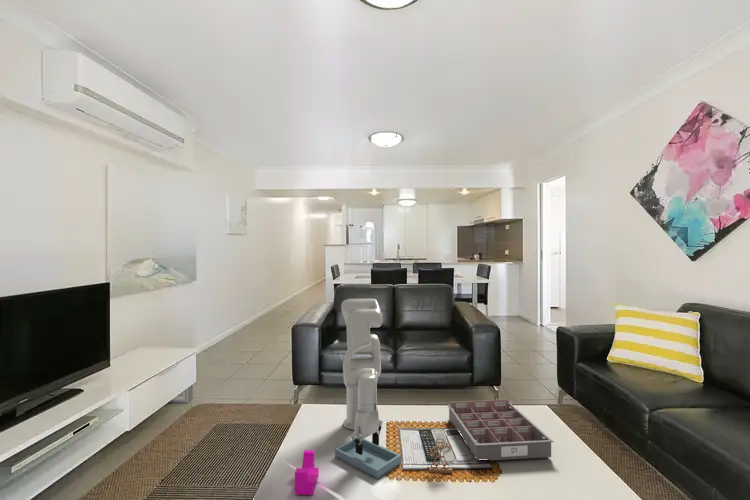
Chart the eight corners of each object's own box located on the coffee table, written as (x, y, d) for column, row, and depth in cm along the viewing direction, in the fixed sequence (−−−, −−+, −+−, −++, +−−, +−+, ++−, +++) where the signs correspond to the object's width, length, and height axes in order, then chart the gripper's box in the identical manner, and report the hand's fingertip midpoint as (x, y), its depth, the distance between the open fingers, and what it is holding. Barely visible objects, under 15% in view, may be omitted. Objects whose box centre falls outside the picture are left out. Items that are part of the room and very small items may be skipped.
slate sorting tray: (359, 444, 166) (359, 436, 166) (401, 464, 151) (401, 455, 151) (335, 457, 156) (335, 448, 156) (377, 480, 140) (377, 470, 140)
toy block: (312, 494, 132) (312, 472, 132) (294, 494, 133) (294, 472, 133) (320, 470, 147) (320, 450, 147) (304, 469, 148) (304, 450, 148)
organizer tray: (475, 466, 150) (475, 440, 150) (447, 420, 190) (447, 400, 190) (554, 461, 153) (554, 436, 153) (509, 418, 193) (509, 398, 193)
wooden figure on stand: (428, 472, 145) (428, 440, 145) (428, 466, 149) (428, 435, 149) (452, 473, 145) (452, 441, 145) (451, 467, 149) (451, 436, 149)
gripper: (374, 397, 162) (375, 437, 162) (345, 409, 149) (345, 454, 149) (388, 401, 157) (388, 443, 157) (358, 415, 144) (359, 461, 144)
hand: (367, 448), depth 153 cm, fingers open, 9 cm apart
